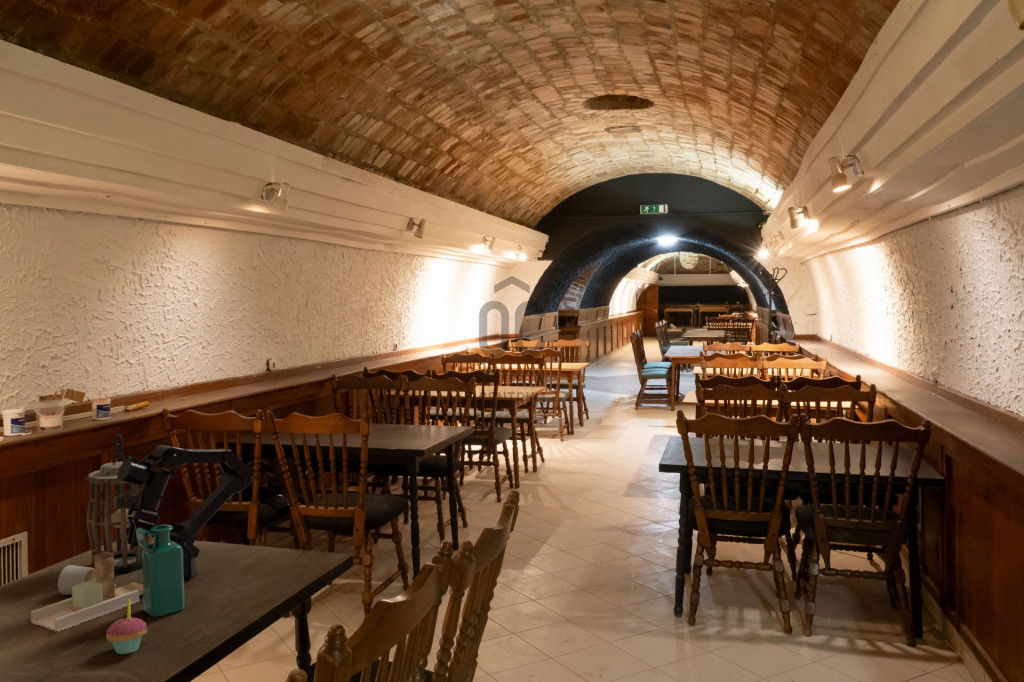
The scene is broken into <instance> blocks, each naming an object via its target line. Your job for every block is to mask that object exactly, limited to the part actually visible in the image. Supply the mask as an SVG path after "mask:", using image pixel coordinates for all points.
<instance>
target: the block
mask: <svg viewBox="0 0 1024 682" xmlns="http://www.w3.org/2000/svg"><path fill="white" fill-rule="evenodd" d="M71 596H72V597H71V598H72V599H73V606H76V607H79V608H82V609H84V608H87V607H89V606H92V605H95V604H98V603H101V602H103V585H102V583H98V582H95V581H91V580H90V581H87V582H84V583H81V584H78V585H75V586H72V595H71Z"/></svg>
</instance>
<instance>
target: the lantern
mask: <svg viewBox="0 0 1024 682" xmlns="http://www.w3.org/2000/svg"><path fill="white" fill-rule="evenodd" d="M118 438H119V439H120V442H118V443H117V439H118ZM112 442H113V446H114V449H113V450H114V455H113V457H112V462H109V463H108V462H107V463H104V464H102V465H101V466H100V468H99V470H95V471H93V472H91V473H90V472H89V473H88V476H86V477H84V478H82V481H87V482H89V494H88V503H87V510H86V511H87V512H86V526H87V527H86V528H87V535H88V541H89V545H90V550H91V568H94V569H95V558H94V555H97V554H100V553H103V552H109V553H113V554H114V574H118V575H122V574H121V573H124V574H128V573H127V572H130V573H133V572H132V571H135V572H137V571H136V570H138V571H140V570H139V569H141V570H142V550H143V549H142V548H141V547H140V546H139V544H138V545H137V546H136V547H135V548H134V547H131V544H129V549H128V543H127V542H128V531H127V530H128V528H130V522H129V520H128V518H127V516H130V515H127V512H128V509H129V507H124V508H120V509H115V508H114V509H112V506H114V501H112V495H114V497H115V496H122V494H123V493H130V495H137V494H138V491H140V490H141V489H142V487H143V484H144V483H143V484H142V485H135V484H131V483H128V482H124V481H120V480H119V479H118V477H117V473H118V469H119V467H120V466H121V465H122V464H123V462H125V461H126V460H127V459H126V457H125V455H124V447H123V445H124V438H123V436H122V435H121V434H120V433H117V434H115V435H114V436H113V441H112ZM118 449H119V450H120V451H119V452H118ZM116 458H121V459H122V461H116ZM126 484H128V485H127V486H128V489H126ZM112 485H114V490H112ZM145 488H146V487H145ZM99 507H100V512H99ZM99 517H100V521H99V520H98V519H99ZM98 526H99V527H100V526H101V531H102V541H100V534H99V528H98ZM112 526H113V528H114V529H115V530H116V533H115V534H116V535H115V537H116V538H112V532H111V531H112V530H111V527H112ZM145 540H146V545H149V544H152V535H150V534H147V535H146V537H145ZM115 542H116V551H113V543H115ZM102 546H103V550H102Z"/></svg>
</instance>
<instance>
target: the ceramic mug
mask: <svg viewBox="0 0 1024 682" xmlns="http://www.w3.org/2000/svg"><path fill="white" fill-rule="evenodd" d="M57 580H58V581H57V588H58V589H57V590H58V592H59V593H60V594H61V595H66V596H70V595H71V596H72V586H75V585H78V584H81V583H84V582H87V581H90V580H91V581H95V569H94V568H92V567H88V566H79V565H78V566H77V565H70V564H69V565H66V566H64V567H63V569H62V570H61V572H60V574H59V576H58V579H57Z"/></svg>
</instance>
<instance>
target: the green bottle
mask: <svg viewBox="0 0 1024 682" xmlns="http://www.w3.org/2000/svg"><path fill="white" fill-rule="evenodd" d="M171 525H172V524H171ZM171 525H170V524H159V525H156V526H155V527H153V528H151V530H150V531H147V530H145V529H143V528H137V529H136V535H137V541H138V544H139V546H140V547H141V548H142V549H143V550H142V569H141V571H142V572H141V573H142V578H141V579H142V585H143V594H142V605H143V607H142V608H143V611H144V612H146V613H147V614H149V615H150V616H151V617H153V618H155V617H156V618H158V617H163V616H166V615H169V614H174V613H176V612H177V613H178V612H180V611H182V610H184V608H185V587H184V586H185V585H184V584H185V581H184V575H183V549H182V546H181V545H179V544H177V543H175V542H173V541H170V537H169V531H170V530H172V529H173V526H171ZM145 534H150V535H152V536H154V541H153V543H152V542H151V544H149V545H146V540H145ZM152 536H151V537H152Z"/></svg>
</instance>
